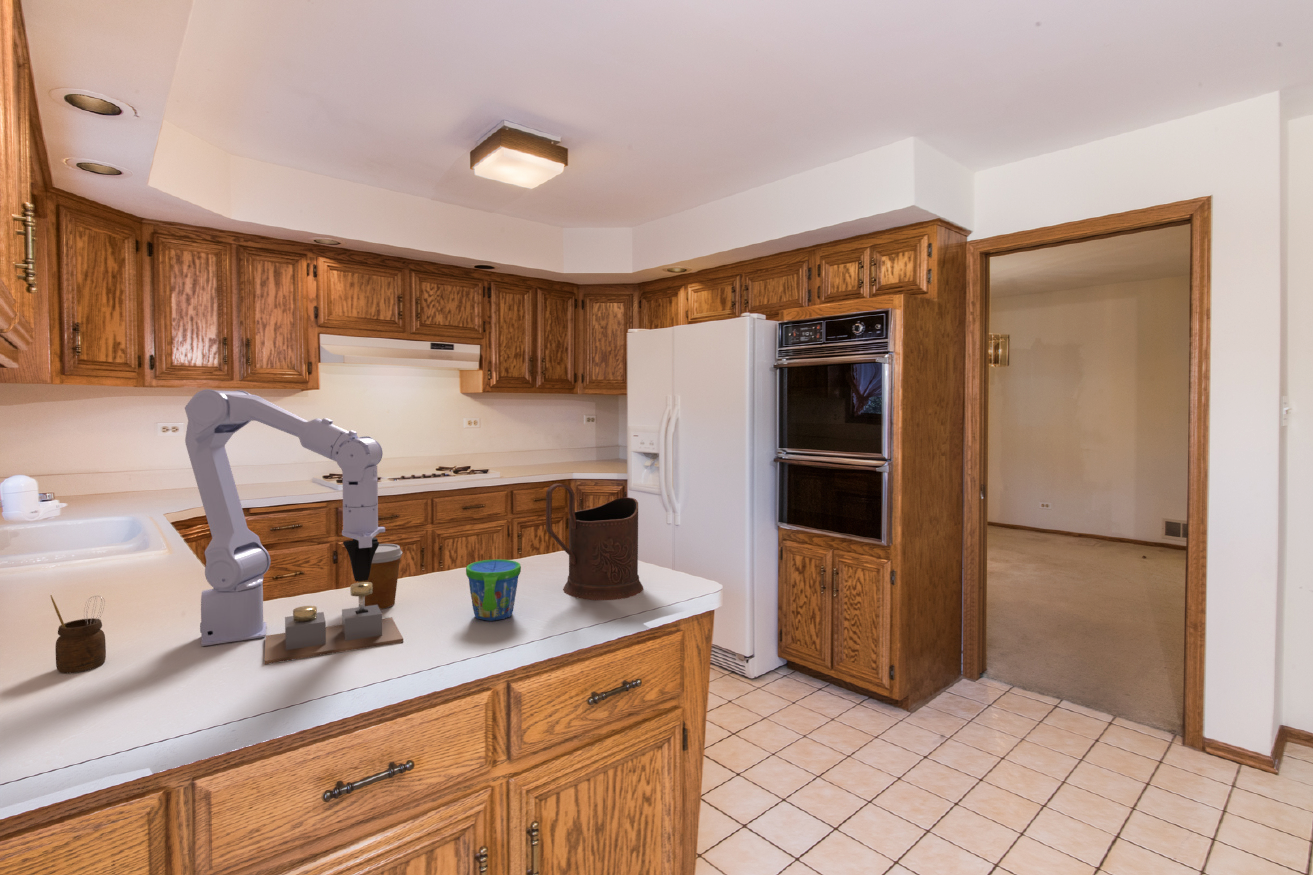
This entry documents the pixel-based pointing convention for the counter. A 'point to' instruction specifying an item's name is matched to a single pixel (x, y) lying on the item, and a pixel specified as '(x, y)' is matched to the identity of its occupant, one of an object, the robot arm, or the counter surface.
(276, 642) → the walnut board
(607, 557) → the cup holder
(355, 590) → the brass round knob
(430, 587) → the counter surface
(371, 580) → the disposable coffee cup
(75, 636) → the utensil holder
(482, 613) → the snack cup
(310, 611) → the left plunger
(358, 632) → the twin gray blocks
